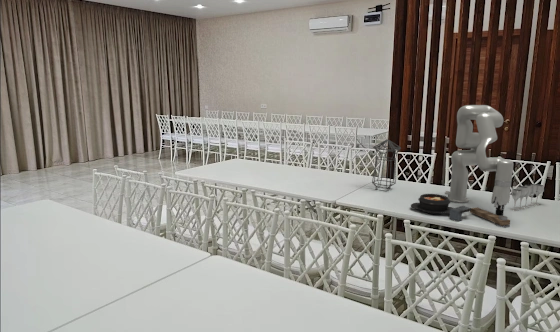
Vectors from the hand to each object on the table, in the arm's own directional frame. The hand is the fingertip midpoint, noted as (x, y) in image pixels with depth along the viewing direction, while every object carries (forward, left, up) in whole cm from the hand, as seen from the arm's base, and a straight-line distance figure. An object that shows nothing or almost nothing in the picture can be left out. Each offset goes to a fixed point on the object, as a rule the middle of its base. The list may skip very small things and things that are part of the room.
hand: (499, 216), depth 213 cm
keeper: (-12, -16, -2) cm, 20 cm away
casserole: (-28, -18, -2) cm, 33 cm away
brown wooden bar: (-3, -5, -1) cm, 6 cm away
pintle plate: (+6, -8, -2) cm, 10 cm away
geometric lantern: (-77, -5, -2) cm, 77 cm away
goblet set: (-4, +36, -2) cm, 37 cm away
